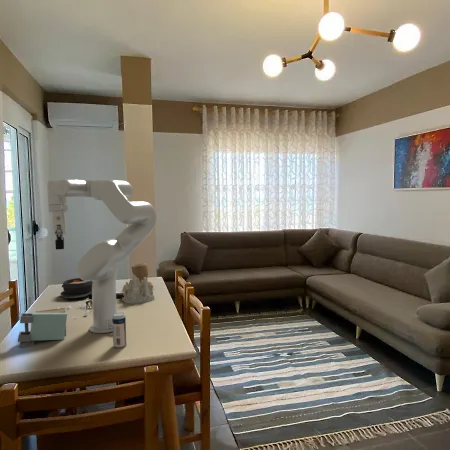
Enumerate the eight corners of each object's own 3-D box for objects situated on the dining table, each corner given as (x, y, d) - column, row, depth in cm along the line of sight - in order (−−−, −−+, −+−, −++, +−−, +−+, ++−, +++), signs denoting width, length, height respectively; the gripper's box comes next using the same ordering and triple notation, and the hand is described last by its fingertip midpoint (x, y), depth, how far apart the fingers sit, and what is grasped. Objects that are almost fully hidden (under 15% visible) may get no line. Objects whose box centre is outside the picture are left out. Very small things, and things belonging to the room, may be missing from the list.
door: (18, 338, 136) (21, 312, 135) (64, 336, 142) (66, 311, 142) (17, 341, 132) (20, 315, 132) (64, 340, 139) (67, 314, 138)
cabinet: (25, 331, 148) (23, 304, 147) (65, 325, 154) (64, 299, 153) (20, 347, 132) (18, 317, 131) (66, 340, 139) (64, 311, 138)
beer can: (129, 345, 133) (128, 313, 132) (117, 349, 130) (116, 317, 129) (122, 342, 136) (121, 311, 135) (110, 346, 133) (109, 314, 132)
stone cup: (131, 285, 223) (131, 262, 222) (151, 284, 226) (150, 260, 225) (132, 292, 208) (132, 266, 207) (153, 290, 212) (152, 265, 211)
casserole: (65, 290, 213) (64, 276, 212) (98, 288, 217) (97, 275, 217) (55, 302, 189) (55, 287, 188) (93, 300, 193) (92, 284, 192)
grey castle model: (157, 300, 190) (154, 272, 190) (125, 306, 183) (123, 277, 183) (149, 295, 204) (147, 269, 204) (120, 300, 197) (117, 273, 197)
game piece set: (102, 312, 173) (102, 304, 172) (61, 324, 157) (61, 315, 157) (81, 305, 185) (81, 297, 185) (41, 315, 170) (41, 307, 169)
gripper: (67, 209, 149) (69, 249, 150) (67, 208, 165) (69, 244, 166) (47, 209, 146) (49, 251, 147) (49, 208, 162) (51, 246, 163)
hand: (60, 247), depth 157 cm, fingers open, 9 cm apart
